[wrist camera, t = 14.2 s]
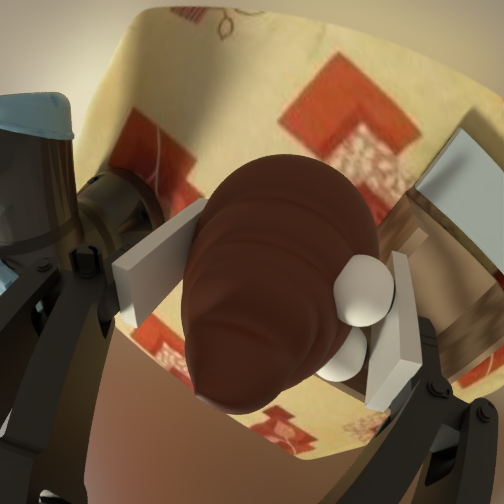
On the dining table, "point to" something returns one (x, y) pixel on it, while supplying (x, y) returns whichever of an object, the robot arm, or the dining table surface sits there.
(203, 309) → the poop emoji
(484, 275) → the box
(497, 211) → the door
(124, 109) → the dining table surface
